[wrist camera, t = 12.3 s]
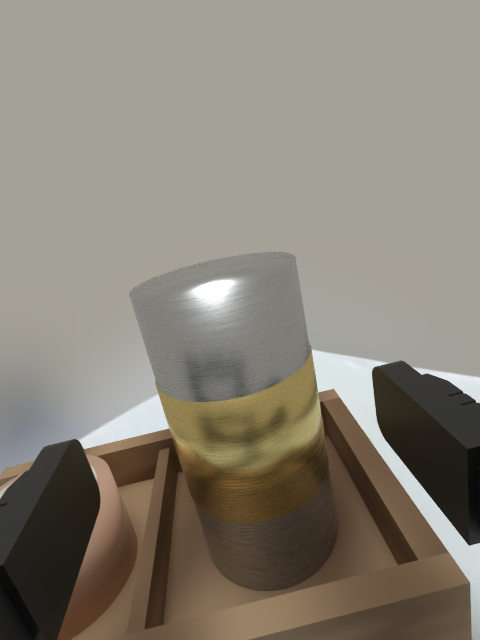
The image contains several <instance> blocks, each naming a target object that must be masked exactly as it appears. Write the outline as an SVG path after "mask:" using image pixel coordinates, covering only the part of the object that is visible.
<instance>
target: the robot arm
mask: <svg viewBox="0 0 480 640" xmlns="http://www.w3.org/2000/svg"><path fill="white" fill-rule="evenodd" d="M372 379H373V388H374V398H375V407H376V416H377V421H378V425H379V428H380V430H381V433H382V435H383V437H384V438H385V440H386V441H387V442H388V444H389V445H390V446H391V448H392V449H393V450H394V451H395V453H396V454H397V455H398V456H399V458H400V459H401V460H402V461H403V463H404V464H405V465H406V466H407V468H408V469H409V470H410V472H411V473H412V474H413V475H414V477H415V478H416V479H417V480H418V482H419V483H420V484H421V485H422V487H423V488H424V489H425V491H426V492H427V493H428V494H429V496H430V497H431V498H432V499H433V501H434V502H435V503H436V504H437V506H438V507H439V508H440V509H441V511H442V512H443V513H444V515H445V516H446V517H447V518H448V520H449V521H450V522H451V523H452V525H453V526H454V527H455V528H456V530H457V531H458V532H459V533H460V535H461V536H462V537H463V539H464V540H465V541H466V542H467V544H468V545H469V546H470V545H473V544H477V543H480V403H476V401H475V400H474V399H473V398H471V397H470V396H469V395H467V394H463V391H462V390H460V389H459V388H457V387H456V386H454V385H453V384H452V383H450V382H449V381H447V380H444V379H441V378H439V377H436V376H433V375H430V374H424V375H421V374H420V373H418V372H417V371H416V370H415V369H413V368H412V367H411V366H409V365H408V364H406V363H405V362H404V361H398V362H394V363H389V364H385V365H381V366H377V367H374V368H373V371H372ZM100 502H101V498H100V490H99V486H98V483H97V481H96V478H95V476H94V474H93V471H92V469H91V466H90V464H89V462H88V459H87V457H86V454H85V452H84V449H83V447H82V445H81V443H80V442H79V441H78V440H76V439H73V440H69V441H65V442H61V443H57V444H52V445H48V446H46V447H44V448H43V449H42V451H41V452H40V454H39V455H38V457H37V458H36V460H35V461H34V463H33V464H32V466H31V467H30V469H29V470H28V471H25V472H24V473H23V474H22V475H21V476H20V477H19V478H18V479H17V480H16V481H14V482H13V483H12V484H11V485H10V486H9V487H8V488H7V489H6V491H5V492H4V494H3V495H2V497H1V498H0V640H57V639H58V636H59V632H60V629H61V626H62V623H63V620H64V617H65V614H66V611H67V608H68V605H69V602H70V599H71V596H72V593H73V590H74V587H75V584H76V581H77V578H78V575H79V571H80V568H81V565H82V562H83V559H84V556H85V553H86V550H87V547H88V544H89V541H90V538H91V535H92V532H93V529H94V526H95V523H96V520H97V517H98V513H99V510H100Z"/></svg>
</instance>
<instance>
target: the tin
mask: <svg viewBox="0 0 480 640" xmlns="http://www.w3.org/2000/svg"><path fill="white" fill-rule="evenodd" d="M129 295H130V298H131V302H132V305H133V308H134V311H135V314H136V318H137V321H138V324H139V327H140V331H141V334H142V337H143V340H144V344H145V347H146V350H147V353H148V356H149V359H150V363H151V366H152V369H153V373H154V375H155V379H156V381H155V382H156V387H157V390H158V393H159V397H160V400H161V403H162V406H163V409H164V413H165V416H166V419H167V422H168V425H169V429H170V432H171V435H172V438H173V441H174V445H175V448H176V451H177V454H178V457H179V461H180V464H181V467H182V470H183V473H184V477H185V480H186V483H187V486H188V489H189V493H190V495H191V497H192V499H193V501H194V504H195V508H196V511H197V514H198V517H199V521H200V524H201V527H202V530H203V533H204V537H205V540H206V543H207V546H208V550H209V553H210V556H211V558H212V560H213V562H214V564H215V565H216V567H217V568H218V570H219V571H220V572H221V573H222V574H223V575H224V576H225V577H227V578H228V579H229V580H231V581H232V582H234V583H236V584H238V585H240V586H243V587H245V588H249V589H253V590H262V591H270V590H279V589H285V588H288V587H291V586H294V585H296V584H298V583H300V582H303V581H304V580H306V579H307V578H309V577H311V576H312V575H313V574H314V573H316V572H317V571H318V570H319V569H320V568H321V567H322V566H323V565H324V563H325V562H326V561H327V559H328V558H329V556H330V555H331V553H332V551H333V548H334V546H335V543H336V539H337V532H338V523H337V517H336V510H335V504H334V498H333V492H332V485H331V479H330V473H329V459H328V452H327V446H326V440H325V433H324V427H323V420H322V414H321V408H320V401H319V395H318V389H317V382H316V376H315V370H314V363H313V357H312V351H311V346H310V344H309V341H308V334H307V328H306V322H305V316H304V309H303V303H302V296H301V290H300V284H299V278H298V271H297V265H296V259H295V256H294V255H293V254H290V253H284V252H265V253H253V254H245V255H239V256H232V257H227V258H221V259H216V260H212V261H207V262H204V263H199V264H195V265H191V266H188V267H184V268H181V269H178V270H174V271H171V272H168V273H165V274H163V275H160V276H157V277H154V278H152V279H150V280H147V281H146V282H143V283H141V284H139V285H138V286H136V287H135V288H133V289H132V290H131V292H130V293H129Z"/></svg>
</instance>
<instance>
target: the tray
mask: <svg viewBox="0 0 480 640" xmlns="http://www.w3.org/2000/svg"><path fill="white" fill-rule="evenodd" d="M318 395H319V401H320V408H321V414H322V420H323V427H324V433H325V440H326V446H327V452H328V459H329V473H330V479H331V485H332V492H333V498H334V504H335V510H336V517H337V523H338V532H337V539H336V543H335V546H334V548H333V551H332V553H331V555H330V556H329V558H328V559H327V561H326V562H325V563H324V565H323V566H322V567H321V568H320V569H319V570H318V571H317V572H316V573H314V574H313V575H312V576H311V577H309V578H307V579H306V580H304V581H303V582H300V583H298V584H296V585H294V586H291V587H288V588H285V589H279V590H270V591H262V590H253V589H249V588H245V587H243V586H240V585H238V584H236V583H234V582H232V581H231V580H229V579H228V578H227V577H225V576H224V575H223V574H222V573H221V572H220V571H219V570H218V568H217V567H216V565H215V564H214V562H213V560H212V558H211V556H210V553H209V550H208V546H207V543H206V540H205V537H204V533H203V530H202V527H201V524H200V521H199V517H198V514H197V511H196V508H195V504H194V501H193V499H192V497H191V495H190V493H189V489H188V486H187V483H186V480H185V477H184V473H183V470H182V467H181V464H180V461H179V457H178V454H177V451H176V448H175V445H174V441H173V438H172V435H171V432H170V429H166V430H162V431H158V432H154V433H150V434H145V435H141V436H137V437H133V438H129V439H125V440H121V441H116V442H112V443H108V444H104V445H100V446H96V447H92V448H87V449H84V452H85V454H86V455H93V456H97V457H99V458H101V459H103V460H104V461H105V462H106V463H107V464H108V465H109V468H110V470H111V473H112V475H113V478H114V480H115V483H116V485H117V488H118V490H119V493H120V495H121V498H122V500H123V503H124V505H125V508H126V510H127V513H128V515H129V518H130V520H131V523H132V525H133V528H134V530H135V533H136V536H137V542H138V549H137V557H136V561H135V564H134V567H133V570H132V572H131V575H130V576H129V578H128V580H127V582H126V584H125V586H124V587H123V589H122V591H121V592H120V594H119V595H118V596H117V598H116V599H115V600H114V602H113V603H112V604H111V605H110V606H109V607H108V609H107V610H106V611H105V612H104V613H103V614H102V615H101V616H100V617H99V618H98V619H97V620H96V621H95V622H94V623H92V624H91V625H90V626H89V627H87V628H86V629H85V630H84V631H82V632H81V633H79V634H78V635H77V636H75V637H74V638H72V639H70V640H471V602H470V582H469V581H468V579H467V578H466V576H465V575H464V573H463V572H462V571H461V569H460V568H459V566H458V565H457V564H456V562H455V561H454V559H453V558H452V556H451V555H450V554H449V552H448V551H447V549H446V548H445V546H444V545H443V544H442V542H441V541H440V539H439V538H438V537H437V535H436V534H435V532H434V531H433V529H432V528H431V527H430V525H429V524H428V522H427V521H426V519H425V518H424V517H423V515H422V514H421V512H420V511H419V509H418V508H417V507H416V505H415V504H414V502H413V501H412V500H411V498H410V497H409V495H408V494H407V492H406V491H405V490H404V488H403V487H402V485H401V484H400V482H399V481H398V480H397V478H396V477H395V475H394V474H393V473H392V471H391V470H390V468H389V467H388V465H387V464H386V463H385V461H384V460H383V458H382V457H381V455H380V454H379V453H378V451H377V450H376V448H375V447H374V446H373V444H372V443H371V441H370V440H369V438H368V437H367V436H366V434H365V433H364V431H363V430H362V428H361V427H360V426H359V424H358V423H357V421H356V420H355V419H354V417H353V416H352V414H351V413H350V411H349V410H348V409H347V407H346V406H345V404H344V403H343V401H342V400H341V399H340V397H339V396H338V394H337V393H336V392H335V390H334V389H332V390H327V391H323V392H319V393H318ZM33 463H34V462H30V463H26V464H22V465H17V466H13V467H9V468H6V469H5V470H4V472H3V473H2V474H1V476H0V487H1V486H2V485H4V484H5V483H7V482H8V481H10V480H11V479H13V478H15V477H16V476H18V475H20V474H22V473H24V472H25V471H27V470H29V469H30V467H31V466H32V464H33Z"/></svg>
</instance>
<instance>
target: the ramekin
mask: <svg viewBox="0 0 480 640" xmlns="http://www.w3.org/2000/svg"><path fill="white" fill-rule="evenodd" d="M86 457H87V459H88V462H89V464H90V466H91V469H92V471H93V474H94V476H95V478H96V481H97V483H98V486H99V490H100V498H101V502H100V510H99V513H98V517H97V520H96V523H95V526H94V529H93V532H92V535H91V538H90V541H89V544H88V547H87V550H86V553H85V556H84V559H83V562H82V565H81V568H80V571H79V575H78V578H77V581H76V584H75V587H74V590H73V593H72V596H71V599H70V602H69V605H68V608H67V611H66V614H65V617H64V620H63V623H62V626H61V629H60V632H59V636H58V639H57V640H70V639H72V638H74V637H75V636H77V635H78V634H79V633H81V632H82V631H84V630H85V629H86V628H87V627H89V626H90V625H91V624H92V623H94V622H95V621H96V620H97V619H98V618H99V617H100V616H101V615H102V614H103V613H104V612H105V611H106V610H107V609H108V607H109V606H110V605H111V604H112V603H113V602H114V600H115V599H116V598H117V596H118V595H119V594H120V592H121V591H122V589H123V587H124V586H125V584H126V582H127V580H128V578H129V576H130V575H131V572H132V570H133V567H134V564H135V561H136V557H137V549H138V542H137V536H136V533H135V530H134V528H133V525H132V523H131V520H130V518H129V515H128V513H127V510H126V508H125V505H124V503H123V500H122V498H121V495H120V493H119V490H118V488H117V485H116V483H115V480H114V478H113V475H112V473H111V470H110V468H109V465H108V464H107V463H106V462H105V461H104V460H103V459H101V458H99V457H97V456H93V455H86ZM27 471H28V470H27ZM22 474H23V473H22ZM22 474H20V475H18V476H16V477H15V478H13V479H11V480H10V481H8V482H7V483H5V484H4V485H2V486H1V487H0V498H1V497H2V495H3V494H4V492H5V491H6V489H7V488H8V487H9V486H10V485H11V484H12V483H13V482H14V481H16V480H17V479H18V478H19V477H20V476H21V475H22Z"/></svg>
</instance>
